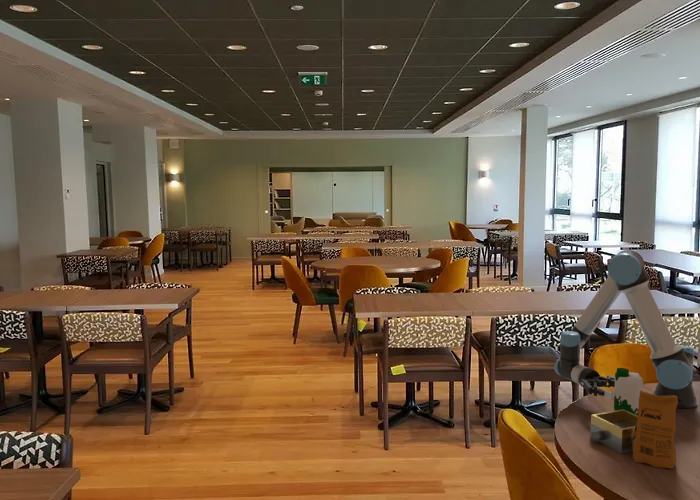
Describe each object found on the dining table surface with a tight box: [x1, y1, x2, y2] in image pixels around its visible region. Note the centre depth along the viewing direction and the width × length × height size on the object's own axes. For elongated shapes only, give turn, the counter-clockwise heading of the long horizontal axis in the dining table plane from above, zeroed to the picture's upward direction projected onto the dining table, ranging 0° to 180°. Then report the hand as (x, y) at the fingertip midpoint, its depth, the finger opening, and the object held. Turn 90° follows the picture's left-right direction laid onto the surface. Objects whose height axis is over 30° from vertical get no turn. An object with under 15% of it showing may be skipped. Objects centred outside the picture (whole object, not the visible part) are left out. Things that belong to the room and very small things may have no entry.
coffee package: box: [632, 390, 678, 469], centre depth 187 cm, size 10×12×22 cm
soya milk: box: [613, 367, 644, 416], centre depth 216 cm, size 9×9×20 cm
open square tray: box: [590, 409, 638, 455], centre depth 201 cm, size 17×14×8 cm
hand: (627, 394), depth 216 cm, fingers open, 13 cm apart
